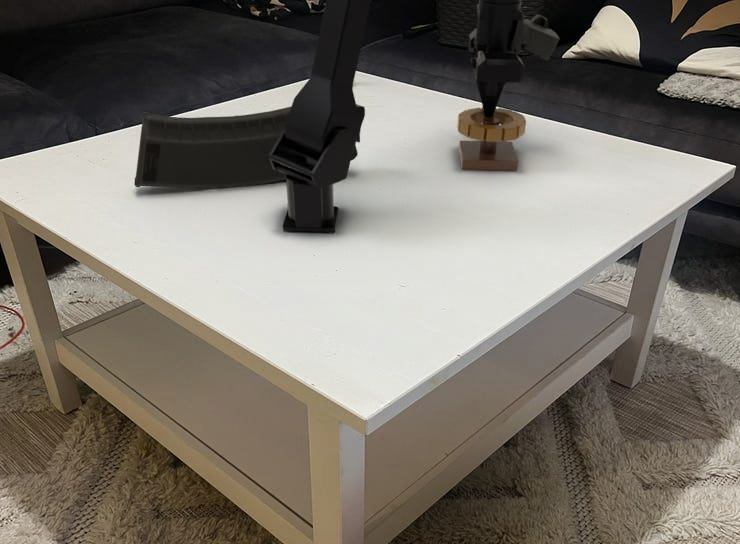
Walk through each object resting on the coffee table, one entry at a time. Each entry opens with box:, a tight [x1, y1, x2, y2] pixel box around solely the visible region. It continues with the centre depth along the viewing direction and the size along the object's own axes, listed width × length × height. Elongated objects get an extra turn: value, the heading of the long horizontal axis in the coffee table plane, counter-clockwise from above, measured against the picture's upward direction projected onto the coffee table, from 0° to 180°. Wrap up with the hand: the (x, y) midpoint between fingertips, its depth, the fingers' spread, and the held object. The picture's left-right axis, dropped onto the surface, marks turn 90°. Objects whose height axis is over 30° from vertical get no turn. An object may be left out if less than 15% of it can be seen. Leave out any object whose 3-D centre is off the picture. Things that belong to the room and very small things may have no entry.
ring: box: [456, 106, 527, 142], centre depth 106 cm, size 10×10×2 cm
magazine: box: [134, 105, 359, 189], centre depth 99 cm, size 17×3×30 cm
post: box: [458, 118, 519, 172], centre depth 108 cm, size 8×8×6 cm
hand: (488, 114), depth 109 cm, fingers closed on ring, 2 cm apart
